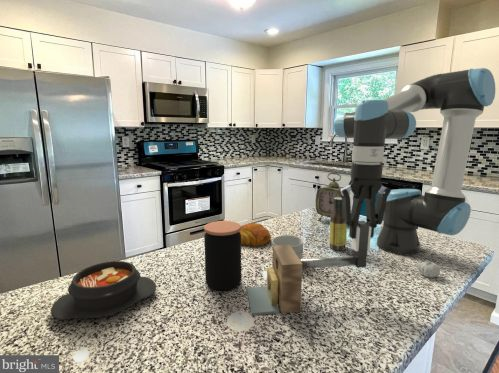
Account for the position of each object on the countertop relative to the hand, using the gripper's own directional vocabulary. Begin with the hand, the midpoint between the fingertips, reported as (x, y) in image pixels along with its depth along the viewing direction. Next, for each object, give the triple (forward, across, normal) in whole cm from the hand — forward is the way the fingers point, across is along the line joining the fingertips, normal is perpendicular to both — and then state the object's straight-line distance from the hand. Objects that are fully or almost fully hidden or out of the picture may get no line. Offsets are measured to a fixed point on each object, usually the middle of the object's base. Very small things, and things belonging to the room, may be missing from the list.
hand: (360, 248), depth 79 cm
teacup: (+14, -14, +24) cm, 31 cm away
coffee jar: (+14, -37, +10) cm, 41 cm away
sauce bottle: (+14, +8, +32) cm, 36 cm away
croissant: (+14, -24, +43) cm, 51 cm away
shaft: (+5, -9, 0) cm, 10 cm away
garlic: (+14, +28, +7) cm, 32 cm away
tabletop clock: (+14, +19, +64) cm, 68 cm away
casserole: (+14, -68, +4) cm, 70 cm away
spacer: (+13, -24, 0) cm, 27 cm away
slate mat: (+14, -27, 0) cm, 30 cm away
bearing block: (+14, -20, 0) cm, 25 cm away
